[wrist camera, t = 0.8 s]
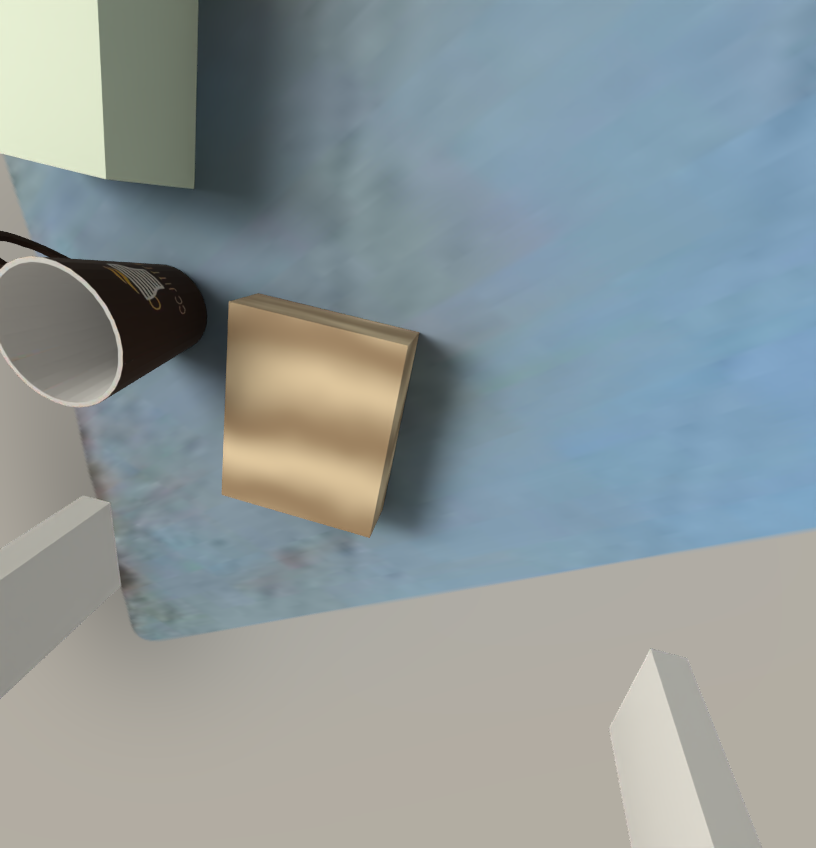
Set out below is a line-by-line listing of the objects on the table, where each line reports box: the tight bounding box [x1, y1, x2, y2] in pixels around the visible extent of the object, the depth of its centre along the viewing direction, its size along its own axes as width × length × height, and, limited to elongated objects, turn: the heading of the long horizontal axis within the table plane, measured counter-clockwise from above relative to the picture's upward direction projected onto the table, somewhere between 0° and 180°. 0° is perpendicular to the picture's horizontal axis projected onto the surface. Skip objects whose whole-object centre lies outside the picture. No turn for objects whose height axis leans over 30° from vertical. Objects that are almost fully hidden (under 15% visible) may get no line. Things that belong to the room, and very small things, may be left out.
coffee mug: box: [0, 231, 207, 407], centre depth 31 cm, size 12×9×10 cm
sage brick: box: [0, 0, 198, 189], centre depth 27 cm, size 13×10×8 cm
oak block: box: [222, 293, 419, 538], centre depth 35 cm, size 15×12×4 cm
